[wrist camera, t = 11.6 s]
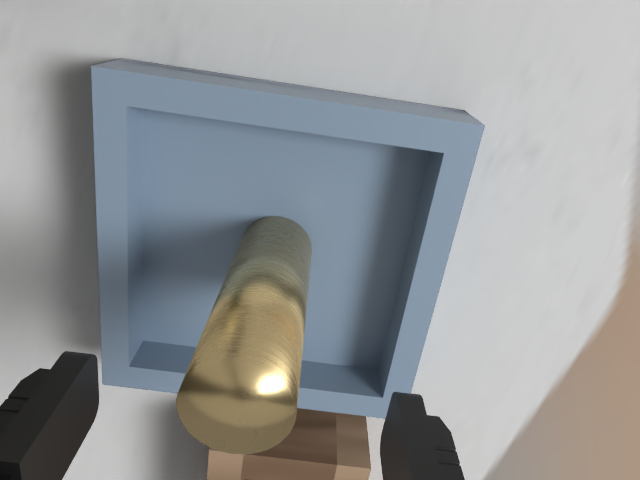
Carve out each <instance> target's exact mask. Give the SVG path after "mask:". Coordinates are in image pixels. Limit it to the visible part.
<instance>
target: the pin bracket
mask: <svg viewBox="0 0 640 480" xmlns="http://www.w3.org/2000/svg"><path fill="white" fill-rule="evenodd" d="M370 471H371V464H370V454H369V443H368V433H367V423H366V416H360V415H352V414H343V413H335V412H327V411H319V410H310V409H302V408H297V415H296V421H295V424H294V426H293V428H292V430H291V432H290V433H289V435H288V436H287V437H286V438H285V439H284V440H283V441H282V442H280V443H279V444H277V445H276V446H274V447H272V448H270V449H268V450H265V451H262V452H258V453H253V454H231V453H226V452H221V451H218V450H215V449H213V448H209V456H208V469H207V480H368V478H369V475H370Z"/></svg>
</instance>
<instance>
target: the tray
mask: <svg viewBox="0 0 640 480" xmlns="http://www.w3.org/2000/svg"><path fill="white" fill-rule="evenodd" d="M91 81H92V108H93V136H94V164H95V191H96V219H97V247H98V275H99V302H100V330H101V358H102V384H103V385H112V386H120V387H128V388H136V389H145V390H153V391H161V392H170V393H178V391H179V389H180V386H181V384H182V381H183V379H184V376H185V374H186V372H187V369H188V367H189V364H190V362H191V359H192V357H193V355H194V352H195V350H196V347H197V345H198V342H199V340H200V338H201V335H202V333H203V330H204V328H205V325H206V323H207V321H208V318H209V316H210V313H211V311H212V308H213V306H214V304H215V301H216V299H217V296H218V294H219V291H220V289H221V287H222V284H223V282H224V279H225V277H226V274H227V272H228V270H229V267H230V265H231V262H232V260H233V257H234V255H235V253H236V250H237V248H238V245H239V243H240V240H241V238H242V236H243V234H244V232H245V230H246V229H247V228H248V227H249V226H250V225H251V224H252V223H253V222H255V221H256V220H258V219H261V218H264V217H268V216H281V217H285V218H288V219H291V220H293V221H295V222H296V223H298V224H299V225H300V226H301V227H302V228H303V229H304V230H305V231H306V232H307V234H308V236H309V238H310V241H311V244H312V258H311V269H310V279H309V290H308V300H307V311H306V321H305V332H304V342H303V352H302V363H301V373H300V384H299V394H298V405H297V408H302V409H310V410H319V411H327V412H335V413H343V414H352V415H360V416H368V417H376V418H385V419H386V415H387V411H388V407H389V404H390V400H391V396H392V394H393V392H401V393H409V394H411V390H412V387H413V383H414V379H415V376H416V372H417V369H418V365H419V361H420V358H421V354H422V351H423V347H424V343H425V340H426V336H427V332H428V329H429V325H430V322H431V318H432V314H433V311H434V307H435V304H436V300H437V296H438V293H439V289H440V286H441V282H442V278H443V275H444V271H445V268H446V264H447V260H448V257H449V253H450V250H451V246H452V242H453V239H454V235H455V232H456V228H457V224H458V221H459V217H460V213H461V210H462V206H463V203H464V199H465V195H466V192H467V188H468V185H469V181H470V177H471V174H472V170H473V167H474V163H475V159H476V156H477V152H478V149H479V145H480V141H481V138H482V134H483V131H484V127H485V125H484V124H482V123H481V122H479V121H478V120H477V119H475V118H474V117H473V116H471V115H470V114H469V113H467V112H466V111H465V110H458V109H452V108H445V107H439V106H432V105H426V104H419V103H412V102H406V101H399V100H393V99H386V98H380V97H373V96H367V95H360V94H353V93H347V92H340V91H334V90H327V89H321V88H314V87H307V86H301V85H294V84H288V83H281V82H275V81H268V80H261V79H255V78H248V77H242V76H235V75H229V74H222V73H215V72H209V71H202V70H196V69H189V68H183V67H176V66H169V65H163V64H156V63H150V62H143V61H137V60H130V59H123V58H122V59H118V60H113V61H109V62H105V63H101V64H97V65H93V66H91Z"/></svg>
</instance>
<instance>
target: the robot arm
mask: <svg viewBox="0 0 640 480" xmlns="http://www.w3.org/2000/svg"><path fill="white" fill-rule="evenodd" d="M98 405H99V387H98V366H97V357H96V356H95V355H93V354H85V353H77V352H68V351H66V352H64V353H63V354H62V355H61V356H60V357H59V359H58V360H57V361H56V363H55V364H54V365H53V367H52V368H51V369H50V370H49V369H41V368H40V369H38V370H37V371H35V372H34V373H32V374H30V375H29V376H27V377H26V378H24V379H23V380H21V381H20V383H19V384H18V385H17V386H16V388H15V389H14V390H13V391H12V392H11V394H10V395H9V397H8V399H6V400H5V401H4V402H3V404H2V405H1V406H0V480H62V478H63V477H64V475H65V473H66V471H67V469H68V468H69V466H70V464H71V462H72V460H73V459H74V457H75V455H76V453H77V451H78V449H79V448H80V446H81V444H82V442H83V440H84V439H85V437H86V435H87V433H88V431H89V430H90V428H91V426H92V424H93V422H94V420H95V417H96V414H97V410H98ZM455 450H456V448H455V445H454V441H453V438H452V435H451V432H450V431H449V429H448V428H447V427H446V425H445V424H444V423H443V421H442V420H441V419H440V417H437V416H429V415H427V414H426V410H425V406H424V402H423V398H422V396H421V395H418V394H409V393H401V392H393V394H392V396H391V400H390V404H389V407H388V411H387V415H386V419H385V423H384V427H383V430H382V435H381V443H380V457H381V465H382V474H383V480H465V479H464V476H463V472H462V469H461V466H460V465H459V463H460V462H459V459H458V455H457V452H456V451H455Z"/></svg>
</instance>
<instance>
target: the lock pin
mask: <svg viewBox="0 0 640 480" xmlns="http://www.w3.org/2000/svg"><path fill="white" fill-rule="evenodd" d="M311 258H312V244H311V241H310V238H309V236H308V234H307V232H306V231H305V230H304V229H303V228H302V227H301V226H300V225H299V224H298V223H296V222H295V221H293V220H291V219H288V218H285V217H281V216H268V217H264V218H261V219H258V220H256V221H255V222H253V223H252V224H251V225H250V226H249V227H248V228H247V229H246V230H245V232H244V234H243V236H242V238H241V240H240V243H239V245H238V248H237V250H236V253H235V255H234V257H233V260H232V262H231V265H230V267H229V270H228V272H227V274H226V277H225V279H224V282H223V284H222V287H221V289H220V291H219V294H218V296H217V299H216V301H215V304H214V306H213V308H212V311H211V313H210V316H209V318H208V321H207V323H206V325H205V328H204V330H203V333H202V335H201V338H200V340H199V342H198V345H197V347H196V350H195V352H194V355H193V357H192V359H191V362H190V364H189V367H188V369H187V372H186V374H185V376H184V379H183V381H182V384H181V386H180V389H179V391H178V394H177V405H176V406H177V412H178V415H179V418H180V420H181V422H182V424H183V425H184V427H185V428H186V430H187V431H188V432H189V433H190V434H191V435H192V436H193V437H194V438H195V439H197V440H198V441H200V442H201V443H203V444H204V445H206V446H208V447H210V448H213V449H215V450H218V451H221V452H226V453H231V454H253V453H258V452H262V451H265V450H268V449H270V448H272V447H274V446H276V445H277V444H279V443H280V442H282V441H283V440H284V439H285V438H286V437H287V436H288V435H289V433H290V432H291V430H292V428H293V426H294V424H295V421H296V415H297V405H298V394H299V384H300V373H301V363H302V352H303V342H304V332H305V321H306V311H307V300H308V290H309V279H310V269H311Z"/></svg>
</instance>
